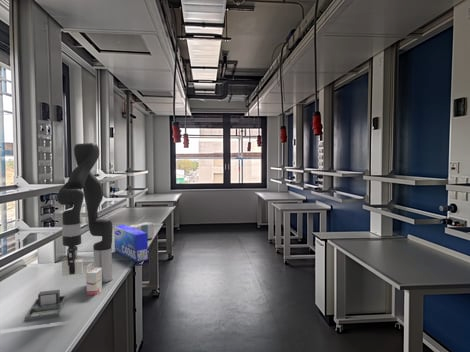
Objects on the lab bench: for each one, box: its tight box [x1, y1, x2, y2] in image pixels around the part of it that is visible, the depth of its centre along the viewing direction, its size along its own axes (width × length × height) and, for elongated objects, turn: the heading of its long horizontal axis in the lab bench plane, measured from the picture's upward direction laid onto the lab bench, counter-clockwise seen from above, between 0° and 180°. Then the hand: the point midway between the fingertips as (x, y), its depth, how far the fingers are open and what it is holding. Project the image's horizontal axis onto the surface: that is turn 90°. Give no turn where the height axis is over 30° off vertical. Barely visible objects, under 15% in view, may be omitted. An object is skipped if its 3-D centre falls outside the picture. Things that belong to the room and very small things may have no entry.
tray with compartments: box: [24, 295, 67, 322], centre depth 152 cm, size 20×12×3 cm, turn 18°
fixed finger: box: [37, 289, 61, 306], centre depth 157 cm, size 4×8×6 cm, turn 108°
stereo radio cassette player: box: [128, 214, 155, 240], centre depth 289 cm, size 21×8×20 cm, turn 148°
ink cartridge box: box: [85, 261, 103, 296], centre depth 173 cm, size 9×5×15 cm, turn 4°
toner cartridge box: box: [113, 224, 149, 263], centre depth 242 cm, size 39×8×18 cm, turn 39°
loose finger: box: [61, 258, 84, 277], centre depth 157 cm, size 4×8×6 cm, turn 108°
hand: (72, 272), depth 157 cm, fingers closed on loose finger, 4 cm apart
